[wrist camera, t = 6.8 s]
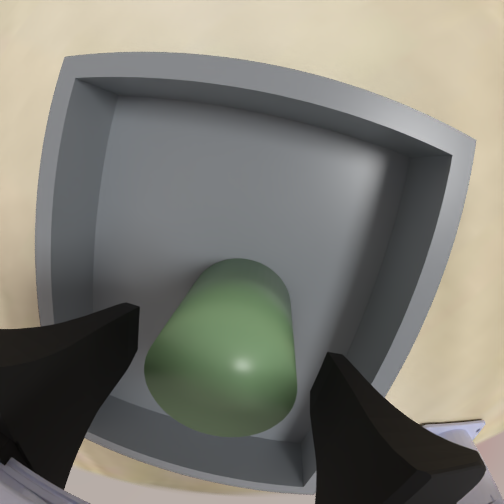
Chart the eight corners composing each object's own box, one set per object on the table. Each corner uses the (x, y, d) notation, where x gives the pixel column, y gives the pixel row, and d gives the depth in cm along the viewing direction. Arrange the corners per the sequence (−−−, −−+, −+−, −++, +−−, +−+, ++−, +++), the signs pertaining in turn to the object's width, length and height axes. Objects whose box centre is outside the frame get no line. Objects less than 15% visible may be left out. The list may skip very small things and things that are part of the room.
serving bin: (309, 444, 18) (313, 494, 13) (92, 388, 18) (63, 427, 13) (424, 145, 12) (476, 140, 8) (114, 80, 12) (64, 56, 8)
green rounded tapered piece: (274, 358, 15) (270, 448, 9) (184, 333, 15) (141, 412, 9) (303, 274, 14) (321, 347, 8) (201, 246, 14) (150, 300, 8)
